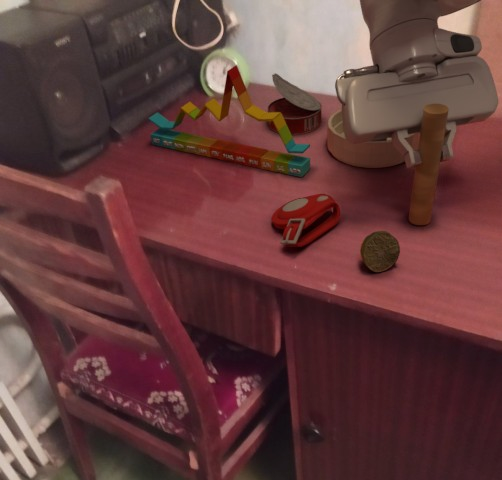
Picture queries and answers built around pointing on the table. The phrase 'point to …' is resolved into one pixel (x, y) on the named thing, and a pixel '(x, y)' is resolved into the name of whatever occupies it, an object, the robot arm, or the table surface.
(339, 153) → the bowl
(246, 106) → the chart
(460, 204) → the table surface
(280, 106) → the canned food
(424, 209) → the stick
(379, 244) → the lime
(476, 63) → the robot arm
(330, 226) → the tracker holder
